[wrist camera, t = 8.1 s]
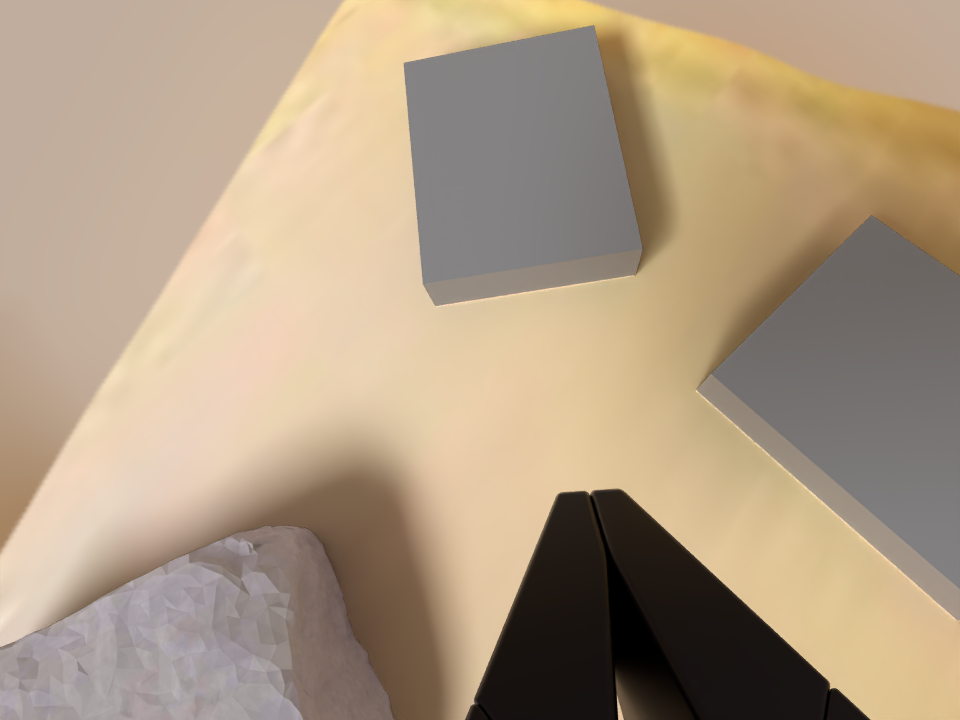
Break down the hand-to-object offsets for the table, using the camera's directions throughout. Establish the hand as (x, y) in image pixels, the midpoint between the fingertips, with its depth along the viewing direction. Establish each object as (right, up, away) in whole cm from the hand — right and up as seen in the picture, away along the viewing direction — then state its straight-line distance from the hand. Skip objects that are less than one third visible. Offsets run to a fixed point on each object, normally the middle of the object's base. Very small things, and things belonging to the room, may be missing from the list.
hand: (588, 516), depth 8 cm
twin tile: (+11, 0, +10) cm, 15 cm away
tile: (0, +5, +12) cm, 13 cm away
